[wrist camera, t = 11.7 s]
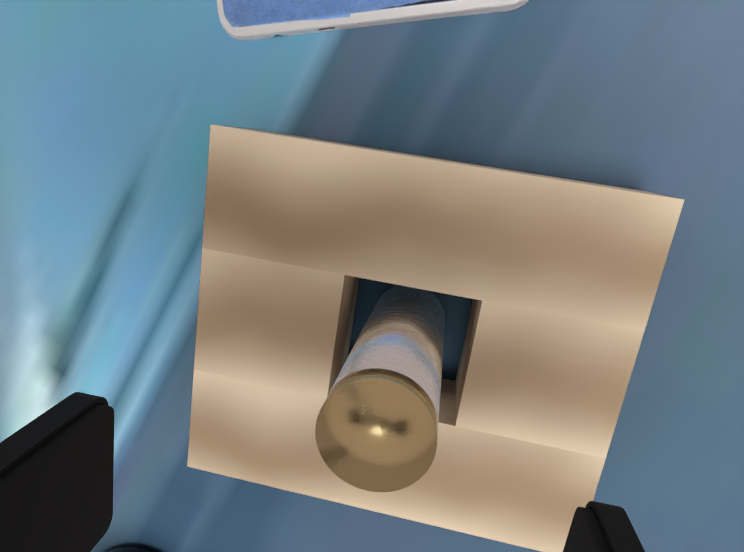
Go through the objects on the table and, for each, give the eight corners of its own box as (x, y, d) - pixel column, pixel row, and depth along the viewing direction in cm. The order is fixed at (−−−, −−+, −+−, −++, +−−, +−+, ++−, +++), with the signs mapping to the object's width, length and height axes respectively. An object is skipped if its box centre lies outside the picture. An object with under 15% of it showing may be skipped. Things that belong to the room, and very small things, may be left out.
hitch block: (253, 128, 22) (210, 124, 18) (641, 190, 20) (684, 199, 17) (227, 419, 26) (187, 466, 22) (555, 493, 24) (574, 559, 20)
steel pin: (379, 277, 23) (323, 369, 13) (451, 291, 23) (447, 395, 13) (368, 344, 24) (308, 476, 14) (438, 358, 23) (425, 504, 14)
